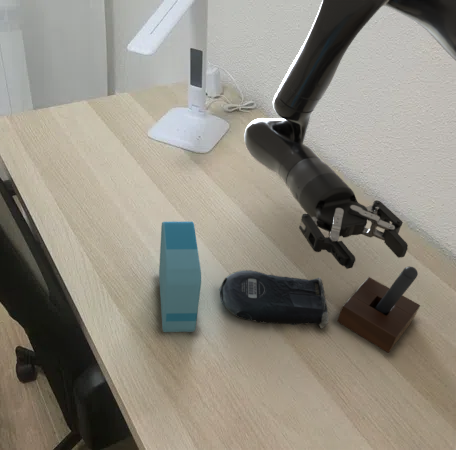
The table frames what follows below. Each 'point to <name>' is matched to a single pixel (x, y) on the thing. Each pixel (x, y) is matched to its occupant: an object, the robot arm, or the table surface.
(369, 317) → the pen stand
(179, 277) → the data package
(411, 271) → the dark grey peg
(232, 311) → the electronic device
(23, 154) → the table surface
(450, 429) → the table surface
